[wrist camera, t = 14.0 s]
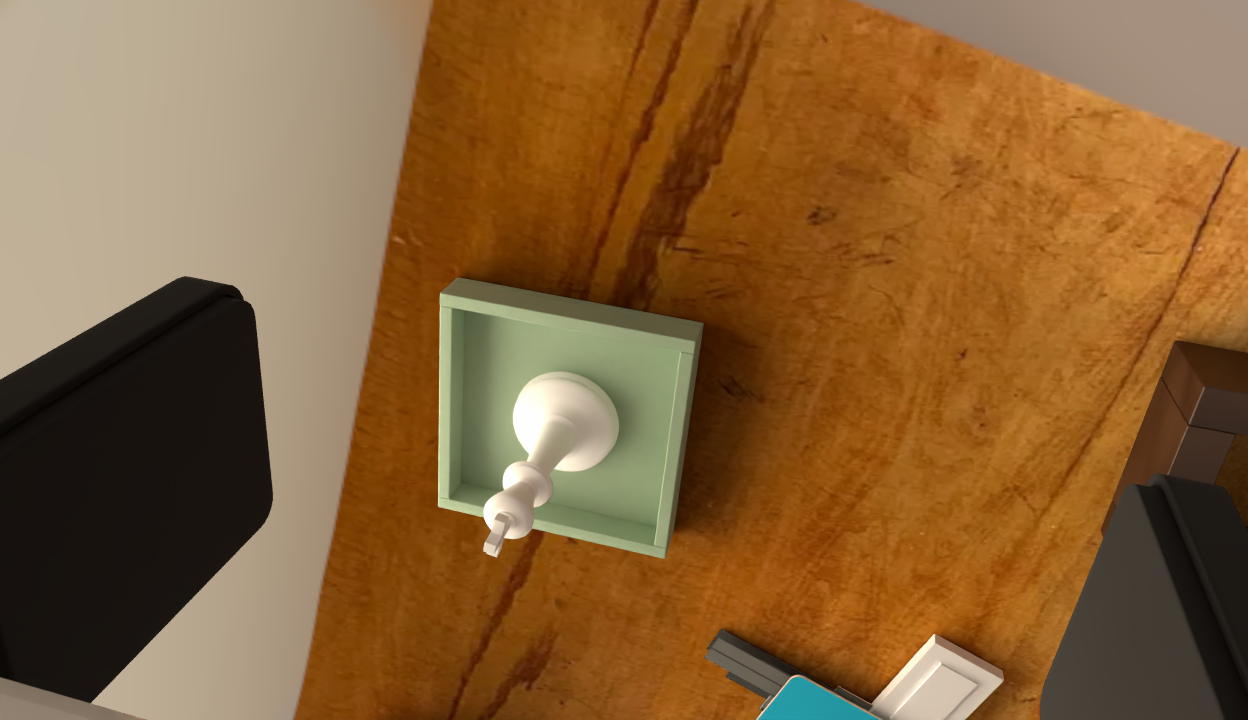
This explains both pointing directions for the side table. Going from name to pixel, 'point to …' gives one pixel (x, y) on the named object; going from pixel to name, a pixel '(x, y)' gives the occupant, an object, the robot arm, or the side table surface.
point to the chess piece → (549, 447)
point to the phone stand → (820, 716)
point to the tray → (588, 346)
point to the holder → (1190, 418)
